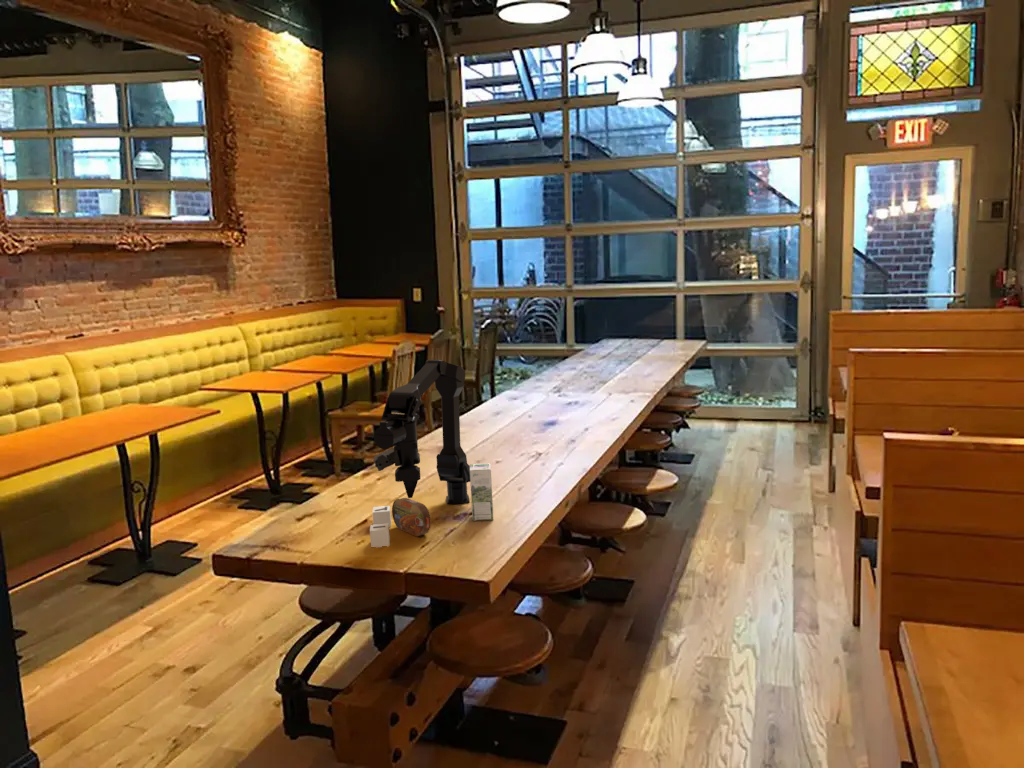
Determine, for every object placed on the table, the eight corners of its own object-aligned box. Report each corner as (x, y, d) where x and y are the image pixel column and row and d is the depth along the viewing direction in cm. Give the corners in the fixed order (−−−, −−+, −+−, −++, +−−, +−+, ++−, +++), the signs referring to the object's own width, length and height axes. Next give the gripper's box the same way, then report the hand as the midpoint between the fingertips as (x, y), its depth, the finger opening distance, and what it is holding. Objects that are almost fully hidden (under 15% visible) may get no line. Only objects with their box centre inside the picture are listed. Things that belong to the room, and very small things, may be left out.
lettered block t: (374, 522, 224) (373, 506, 223) (391, 521, 225) (390, 505, 224) (373, 528, 220) (372, 512, 219) (390, 527, 220) (389, 510, 220)
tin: (392, 526, 221) (389, 495, 220) (402, 523, 223) (399, 493, 222) (423, 540, 210) (421, 508, 208) (433, 537, 212) (431, 505, 210)
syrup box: (493, 513, 227) (490, 462, 225) (493, 520, 221) (490, 468, 219) (472, 514, 227) (469, 463, 224) (472, 521, 221) (469, 469, 219)
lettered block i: (372, 541, 211) (370, 524, 210) (389, 540, 211) (388, 522, 210) (371, 548, 206) (369, 530, 205) (389, 546, 207) (388, 529, 206)
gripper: (375, 433, 220) (380, 489, 223) (372, 451, 202) (377, 512, 205) (417, 429, 221) (421, 485, 224) (418, 447, 203) (422, 508, 206)
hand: (410, 497), depth 215 cm, fingers closed
